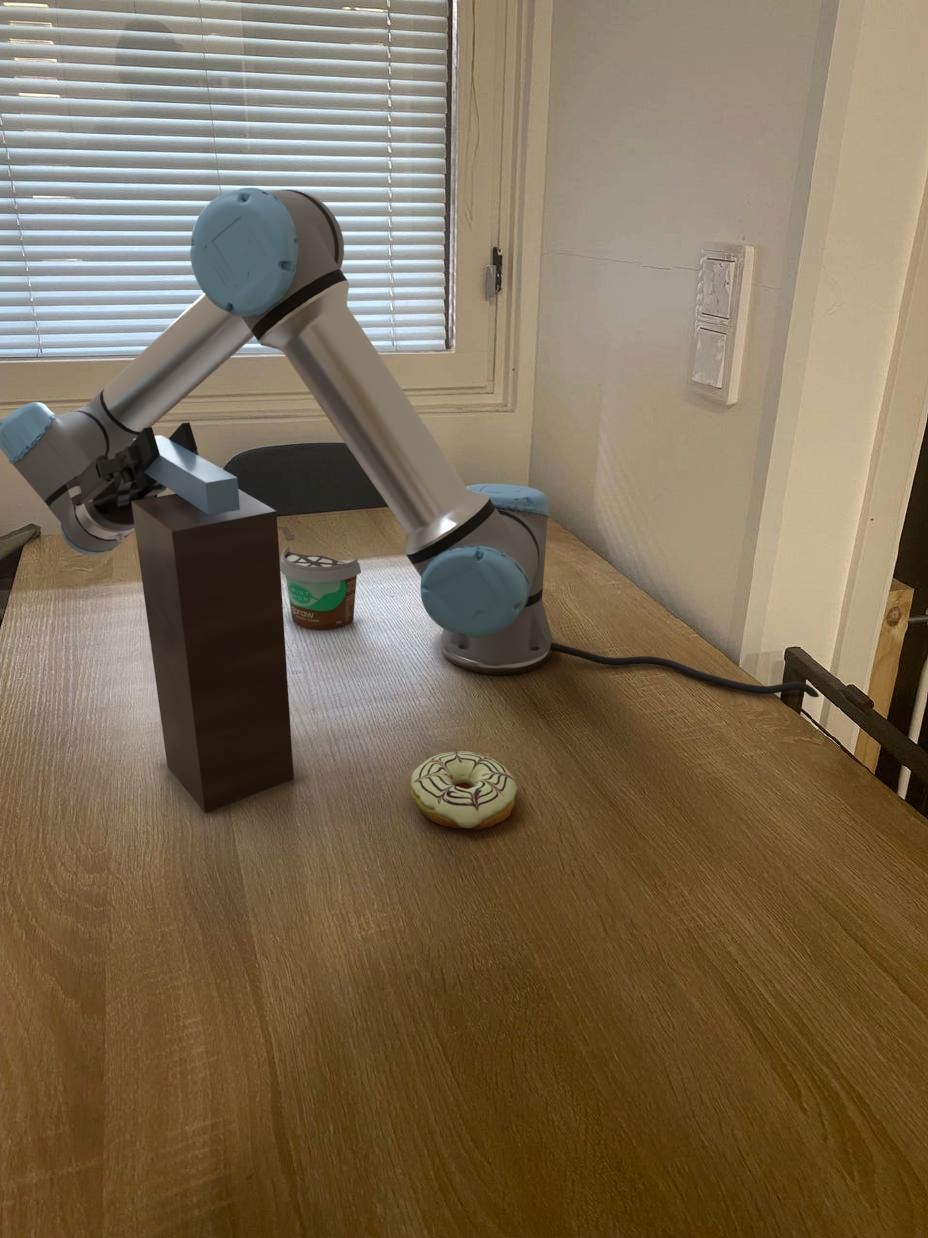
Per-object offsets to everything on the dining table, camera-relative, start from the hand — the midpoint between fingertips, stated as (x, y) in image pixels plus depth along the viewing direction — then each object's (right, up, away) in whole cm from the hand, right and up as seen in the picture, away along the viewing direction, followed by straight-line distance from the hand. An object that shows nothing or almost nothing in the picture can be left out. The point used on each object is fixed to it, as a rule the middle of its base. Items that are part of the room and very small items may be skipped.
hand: (171, 438), depth 87 cm
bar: (+1, -5, 0) cm, 5 cm away
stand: (+3, -34, +11) cm, 36 cm away
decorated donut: (+28, -37, +7) cm, 47 cm away
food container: (+6, -18, +44) cm, 48 cm away
